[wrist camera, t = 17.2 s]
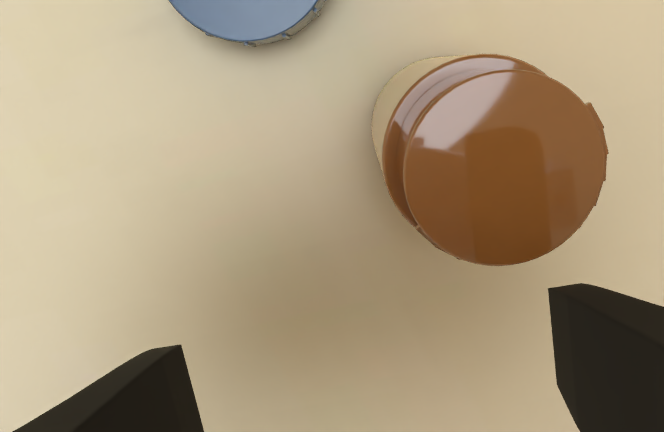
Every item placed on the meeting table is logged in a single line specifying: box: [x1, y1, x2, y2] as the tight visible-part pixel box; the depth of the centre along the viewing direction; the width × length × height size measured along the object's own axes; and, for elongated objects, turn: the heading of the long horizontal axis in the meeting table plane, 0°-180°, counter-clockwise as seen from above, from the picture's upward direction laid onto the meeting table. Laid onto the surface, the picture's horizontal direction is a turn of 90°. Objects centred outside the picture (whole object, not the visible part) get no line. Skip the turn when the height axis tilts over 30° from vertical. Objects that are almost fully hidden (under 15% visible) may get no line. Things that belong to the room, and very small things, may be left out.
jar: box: [371, 54, 608, 266], centre depth 15 cm, size 4×4×8 cm
